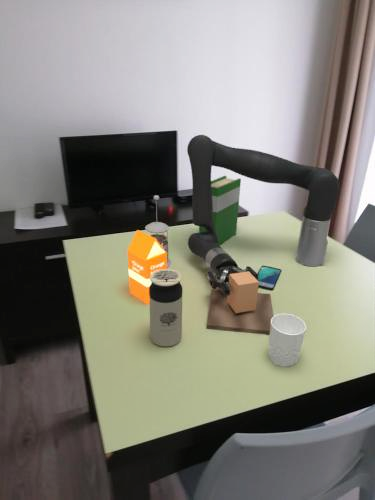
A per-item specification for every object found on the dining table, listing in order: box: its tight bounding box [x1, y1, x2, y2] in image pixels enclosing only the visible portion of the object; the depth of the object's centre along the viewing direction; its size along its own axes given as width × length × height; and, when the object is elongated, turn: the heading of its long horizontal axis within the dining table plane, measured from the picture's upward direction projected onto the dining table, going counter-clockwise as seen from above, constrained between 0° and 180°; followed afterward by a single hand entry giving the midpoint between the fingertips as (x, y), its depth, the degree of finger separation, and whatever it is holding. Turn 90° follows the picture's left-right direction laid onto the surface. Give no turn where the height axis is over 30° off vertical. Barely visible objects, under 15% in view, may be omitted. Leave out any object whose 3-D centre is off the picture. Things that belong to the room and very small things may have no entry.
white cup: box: [267, 313, 307, 368], centre depth 85 cm, size 8×8×10 cm
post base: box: [206, 288, 274, 335], centre depth 101 cm, size 18×18×10 cm
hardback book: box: [198, 175, 242, 247], centre depth 143 cm, size 18×7×24 cm, turn 145°
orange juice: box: [126, 229, 168, 306], centre depth 106 cm, size 8×9×20 cm
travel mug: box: [149, 268, 183, 347], centre depth 89 cm, size 8×8×18 cm
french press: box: [144, 194, 172, 268], centre depth 124 cm, size 10×12×25 cm
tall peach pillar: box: [227, 271, 259, 313], centre depth 100 cm, size 6×6×9 cm
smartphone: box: [257, 265, 282, 292], centre depth 121 cm, size 7×1×15 cm
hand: (243, 290), depth 100 cm, fingers open, 8 cm apart
